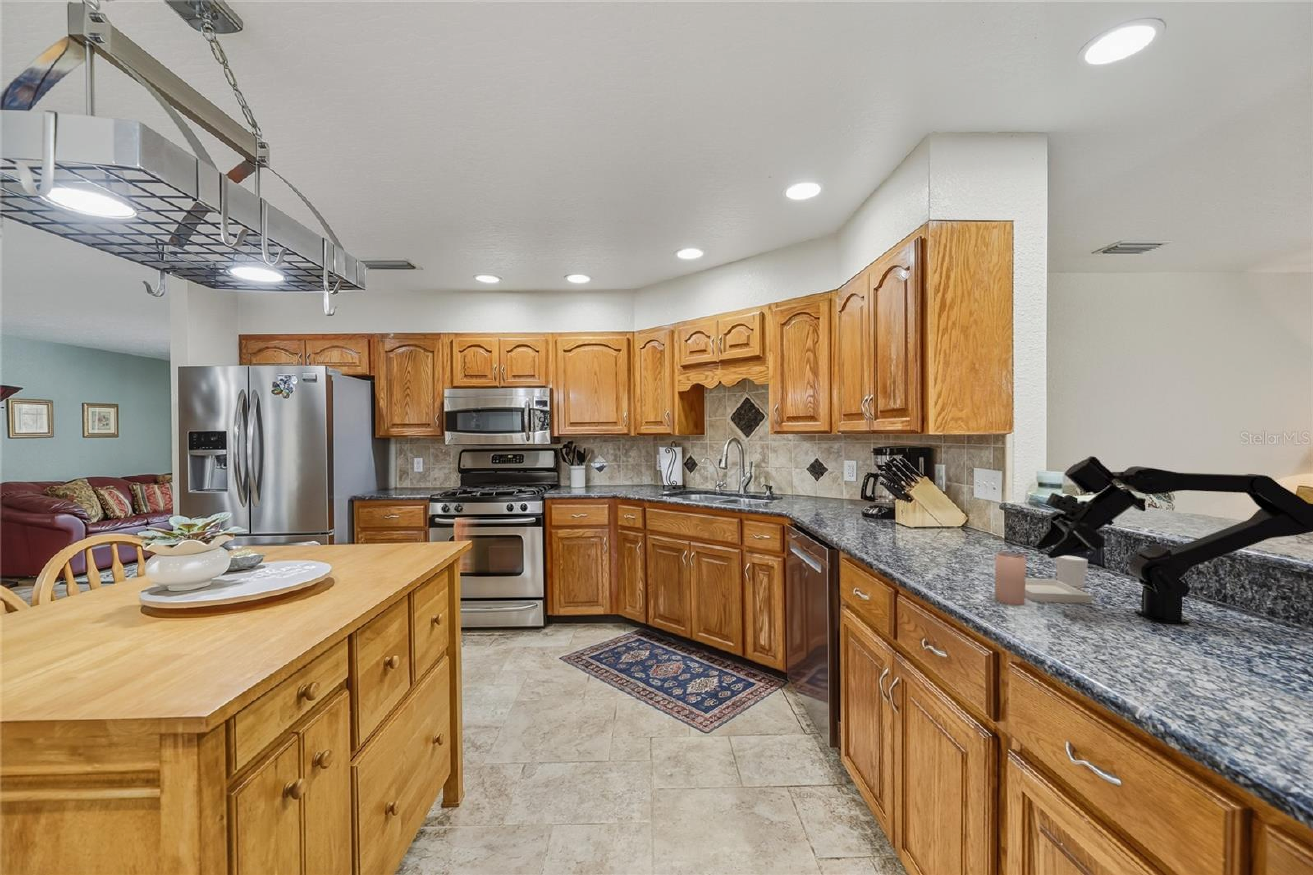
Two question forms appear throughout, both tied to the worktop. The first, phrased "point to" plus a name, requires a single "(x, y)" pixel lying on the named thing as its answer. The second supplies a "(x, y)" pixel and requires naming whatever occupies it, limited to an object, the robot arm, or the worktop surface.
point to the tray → (1054, 592)
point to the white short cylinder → (1071, 570)
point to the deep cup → (1010, 578)
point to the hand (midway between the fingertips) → (1042, 552)
